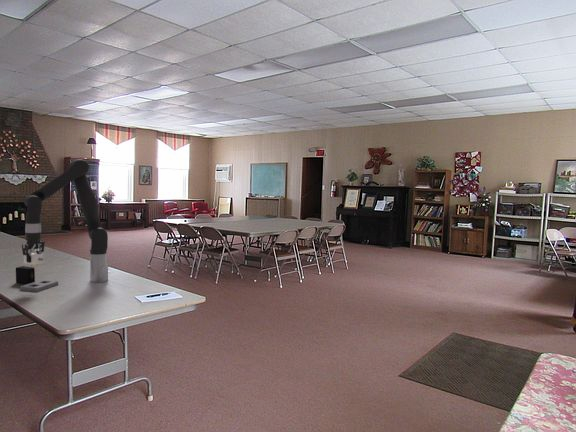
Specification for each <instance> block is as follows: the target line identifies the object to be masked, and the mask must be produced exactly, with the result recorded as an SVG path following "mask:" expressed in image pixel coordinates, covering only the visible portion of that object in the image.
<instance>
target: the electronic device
mask: <svg viewBox="0 0 576 432" xmlns="http://www.w3.org/2000/svg"><path fill="white" fill-rule="evenodd" d="M35 270H36V269H35V267H31V266H26V265H23V266H17V267H15V284H19V285H26V284H30V283H33V282H36V278H35V277H36V271H35Z"/></svg>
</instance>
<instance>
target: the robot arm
mask: <svg viewBox="0 0 576 432" xmlns="http://www.w3.org/2000/svg"><path fill="white" fill-rule="evenodd" d="M89 170H90V164H89V163H88V161H87V160H85V159H82V158H81V159H73V160H71V161H70V162H69V163H68V169H67V170H65V171H64V172H63V173H61V174H59V175H58V176H55V178H52V179H51V180H49V181H47V182H46V183H45V184H43V185H42V186H41V187H40V188H38V189H36V190H35V191H33V192H31V193H29V194H28V195H27V196H26V197H24V200H23V204H24V205H25V206H26V207H27V212H26V214H25V226H24V227H25V228H24V231H25V232H24V233H25V234H24V235H25V241H26V243H25V244H23V243H22V244H21V250H22V255H23V256H24V255H26V261H27V262H28V263H30V262H31V254H32V253H34V251H35V253H38V254H42V253H44V251H45V241H43V240H42V224H41V221H42V220H41V213H42V207H43V201H44V200H47V199H50V198H51V197H53V196H54V195H55V194H56V193H58V192H59V191H60V190H61V189H63V188H65V187H66V186H67V185H68V184H70V183H71V182H72V181H73V183H74V186H75V189H76V193H77V197H78V201H79V205H80V208H81V211H82V213H83V216H84V219H85V222H86V227H87V232H88V236H89V237H88V238H89V239H90V240H91V242H90V243H91V247H90V249H89V279H90V280H89V281H90V282H92V283H104V282H107V281H109V265H108V264H107V262H108V261H107V257H108V256H107V250H108V246H109V245H108V241H109V237H108V231H107V230H106V229H105V228H103V227H102V224H101V221H100V218H99V206H98V201H97V197H96V194H95V192H94V190H93V189H92V187H91V185H90V183H89V181H88V179H87V173H88V172H89ZM41 240H42V241H41Z"/></svg>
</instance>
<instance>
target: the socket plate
mask: <svg viewBox="0 0 576 432" xmlns="http://www.w3.org/2000/svg"><path fill="white" fill-rule="evenodd" d="M58 285H59V281H58V280H48V279H40V280H35V282H33V283H30V284H26V285H24V284H22V285H21V286H19V291H24V292H25V291H27V292H36V293H37V292H40V291H45V290H47V289H49V288H53V287H55V286H58Z"/></svg>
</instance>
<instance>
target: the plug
mask: <svg viewBox="0 0 576 432" xmlns="http://www.w3.org/2000/svg"><path fill="white" fill-rule="evenodd" d="M40 264H44V253H41V254H38V253H36V252H35V253H34V252H32V254H31V262H30V263H28V262H27V261H26V255H23V265H30V267H33V268H37V267H38V266H39V265H40Z"/></svg>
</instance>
